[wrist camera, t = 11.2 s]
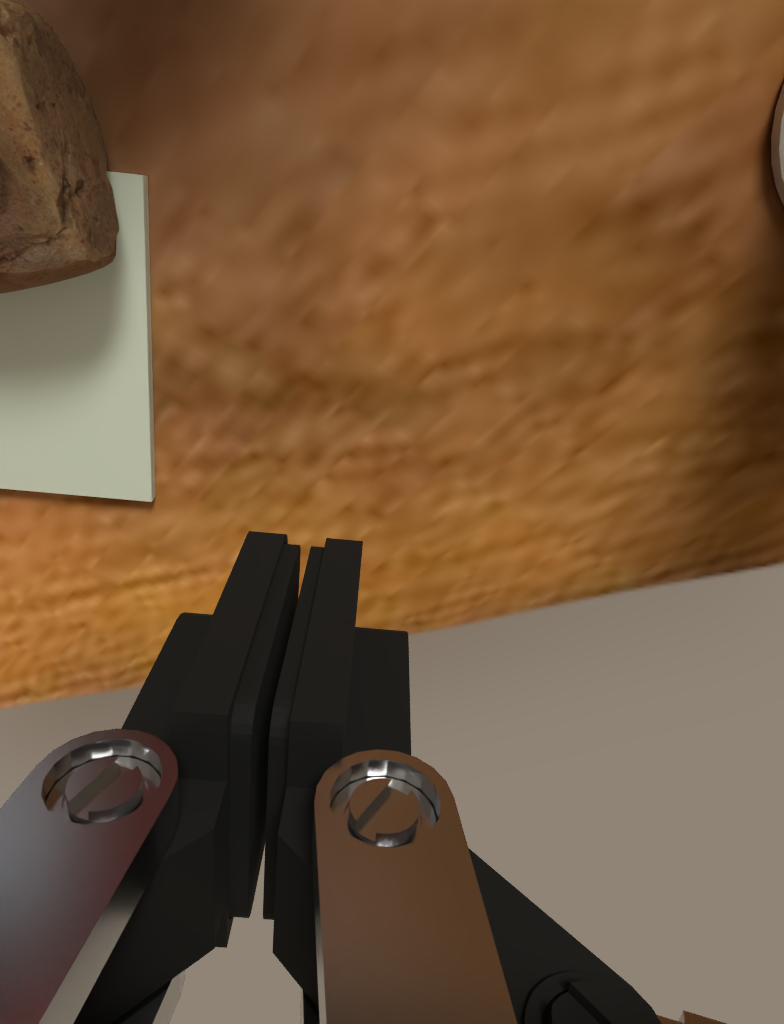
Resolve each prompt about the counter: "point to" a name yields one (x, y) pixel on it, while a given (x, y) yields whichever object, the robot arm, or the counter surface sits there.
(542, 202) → the counter surface
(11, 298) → the cutting board
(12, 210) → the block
